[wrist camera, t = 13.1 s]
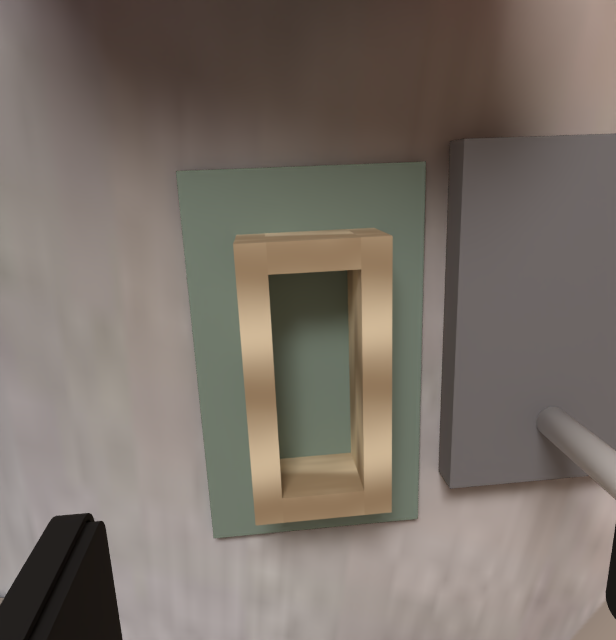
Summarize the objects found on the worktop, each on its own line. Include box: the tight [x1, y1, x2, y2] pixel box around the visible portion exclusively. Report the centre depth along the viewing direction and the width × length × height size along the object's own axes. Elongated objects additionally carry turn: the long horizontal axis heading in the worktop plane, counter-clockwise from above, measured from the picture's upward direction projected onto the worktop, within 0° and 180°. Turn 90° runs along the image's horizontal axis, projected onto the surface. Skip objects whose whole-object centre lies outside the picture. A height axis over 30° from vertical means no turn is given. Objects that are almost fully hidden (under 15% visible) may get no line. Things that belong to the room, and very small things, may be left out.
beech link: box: [233, 228, 393, 525], centre depth 28 cm, size 15×7×4 cm, turn 3°
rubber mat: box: [176, 162, 426, 538], centre depth 30 cm, size 22×13×1 cm, turn 2°
